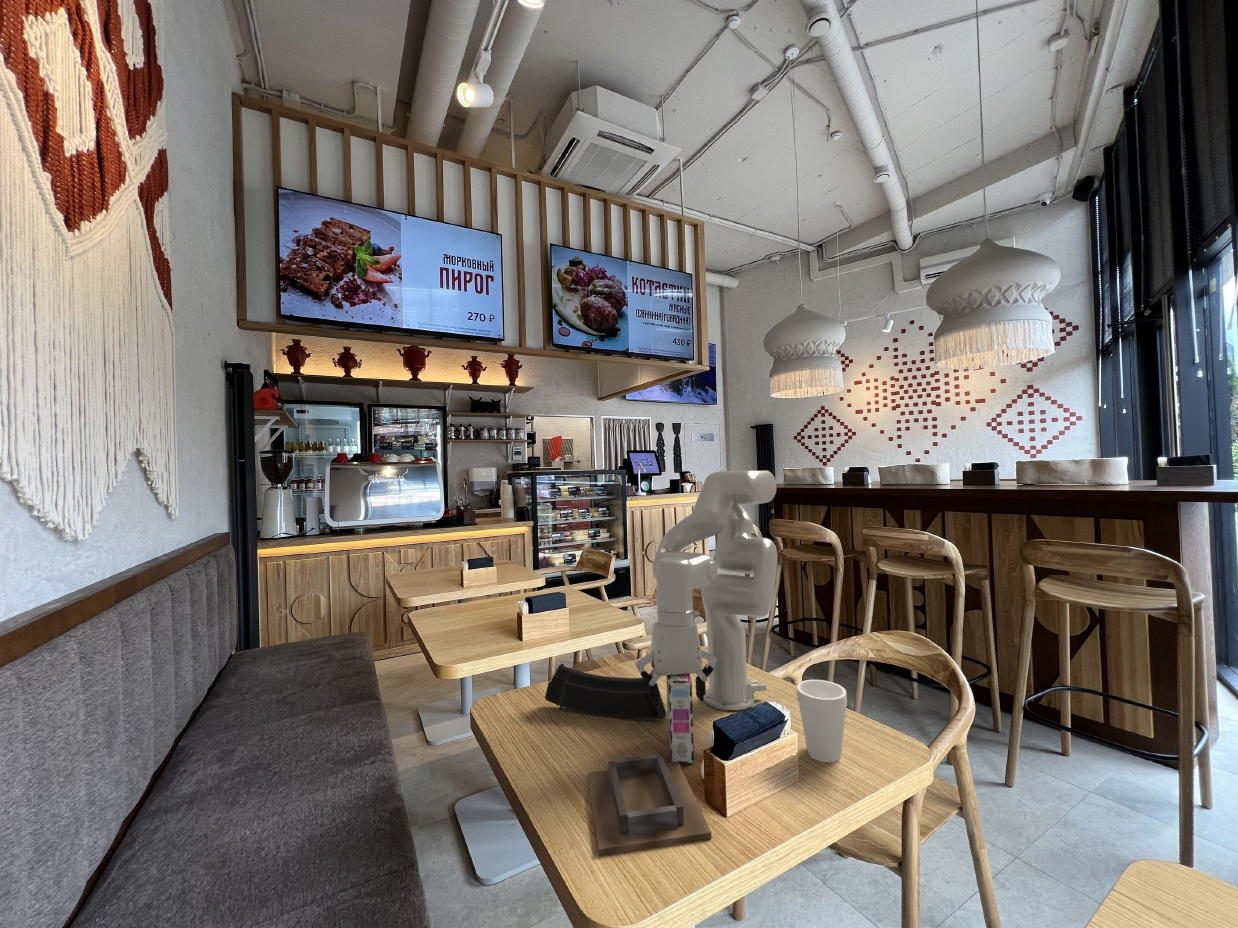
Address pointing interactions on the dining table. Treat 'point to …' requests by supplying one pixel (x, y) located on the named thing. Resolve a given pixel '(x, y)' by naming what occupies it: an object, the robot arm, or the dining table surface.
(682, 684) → the candy bar box
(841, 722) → the foam cup
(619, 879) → the dining table surface
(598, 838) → the end cap board
